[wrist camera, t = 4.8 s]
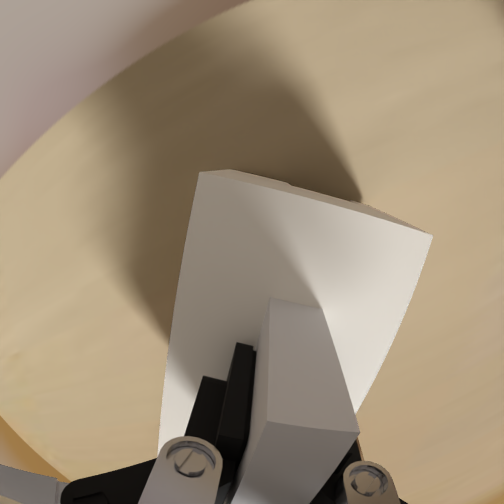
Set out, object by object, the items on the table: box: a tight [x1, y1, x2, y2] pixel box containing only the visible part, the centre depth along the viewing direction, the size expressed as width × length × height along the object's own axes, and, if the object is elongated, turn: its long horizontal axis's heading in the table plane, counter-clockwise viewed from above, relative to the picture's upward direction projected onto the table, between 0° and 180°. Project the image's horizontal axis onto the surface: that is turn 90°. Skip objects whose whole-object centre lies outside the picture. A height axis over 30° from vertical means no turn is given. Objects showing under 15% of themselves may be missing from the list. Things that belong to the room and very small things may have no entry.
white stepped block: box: [158, 169, 433, 504], centre depth 11 cm, size 12×7×12 cm, turn 167°
